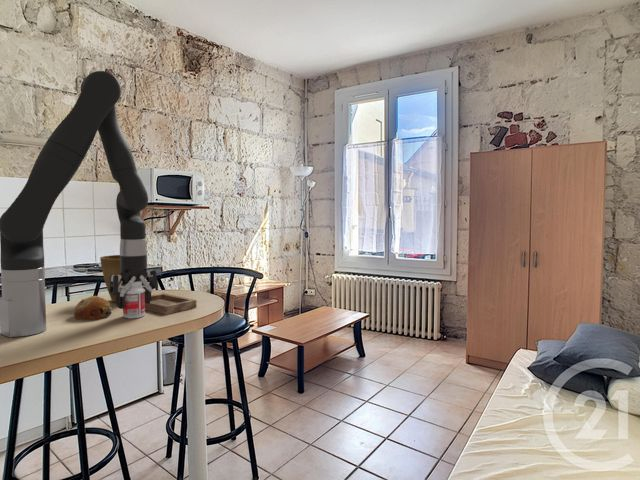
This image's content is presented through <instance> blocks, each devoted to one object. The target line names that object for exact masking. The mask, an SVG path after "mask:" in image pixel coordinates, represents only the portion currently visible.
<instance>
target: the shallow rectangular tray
mask: <svg viewBox="0 0 640 480" xmlns="http://www.w3.org/2000/svg"><path fill="white" fill-rule="evenodd" d="M195 307H196V308H197V300H196V299H193V298H188V297H182V296H179V295H178V296H177V295H173V294H169V293H165V292H164V293H163V292H162V293H157V294H153V295H152V294H151V301H150V303H148V304H147V303H145V311H150V312H154V313H158V314H162V315H166V316H167V315H171V314H173V313H179V312H183V311H187V310H191V308H192V309H196V308H195Z"/></svg>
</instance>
